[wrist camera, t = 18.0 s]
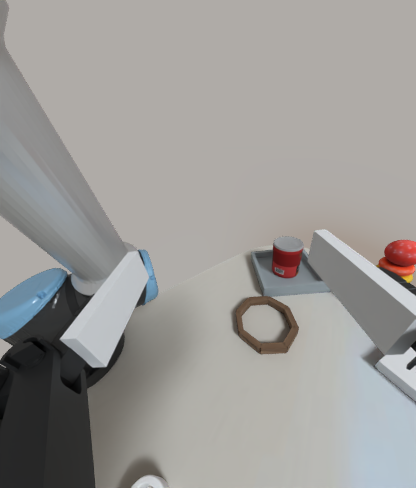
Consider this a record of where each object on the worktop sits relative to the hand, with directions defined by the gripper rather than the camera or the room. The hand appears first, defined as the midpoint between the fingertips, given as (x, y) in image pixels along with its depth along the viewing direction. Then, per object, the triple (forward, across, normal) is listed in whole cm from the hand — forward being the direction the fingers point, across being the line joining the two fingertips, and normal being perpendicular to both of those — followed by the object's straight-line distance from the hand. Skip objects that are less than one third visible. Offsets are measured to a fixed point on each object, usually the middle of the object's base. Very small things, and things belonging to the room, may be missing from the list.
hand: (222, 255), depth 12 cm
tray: (+31, +19, -32) cm, 48 cm away
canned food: (+31, +19, -31) cm, 48 cm away
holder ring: (+14, +8, -32) cm, 36 cm away
